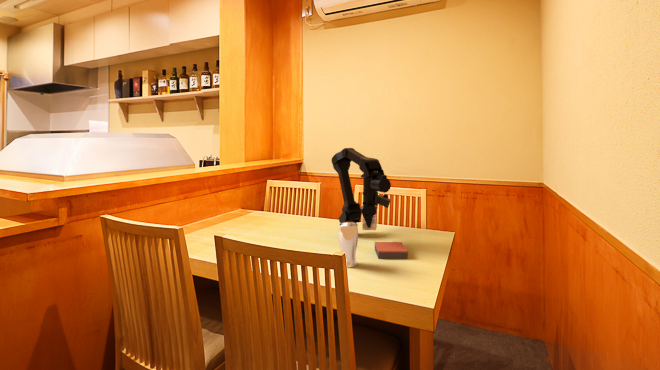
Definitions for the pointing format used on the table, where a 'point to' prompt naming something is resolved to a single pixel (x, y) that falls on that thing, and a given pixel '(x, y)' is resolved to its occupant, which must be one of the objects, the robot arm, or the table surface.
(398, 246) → the red square block
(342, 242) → the beer glass
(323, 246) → the table surface
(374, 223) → the masu
